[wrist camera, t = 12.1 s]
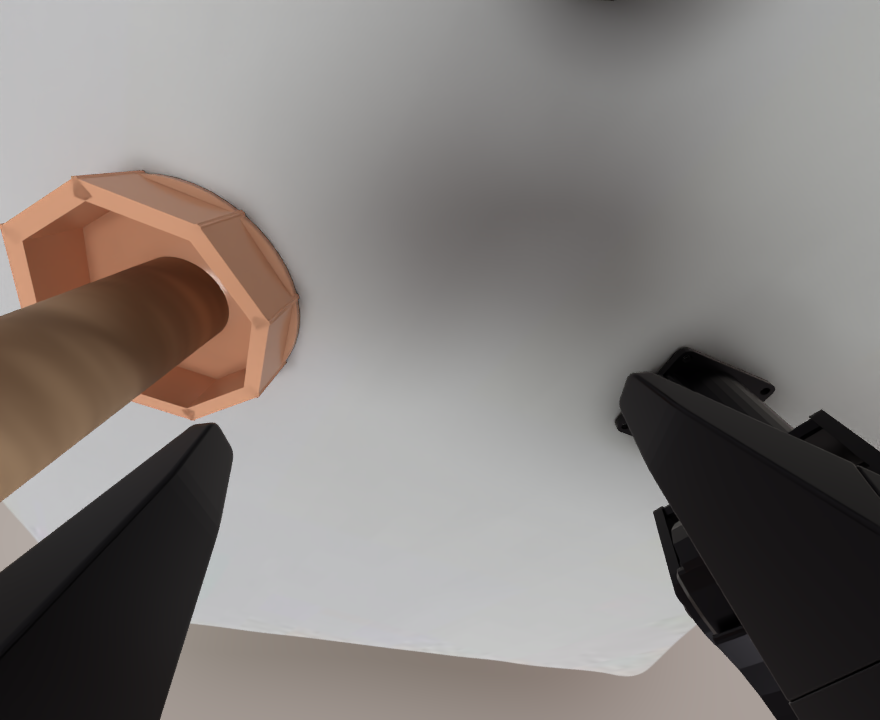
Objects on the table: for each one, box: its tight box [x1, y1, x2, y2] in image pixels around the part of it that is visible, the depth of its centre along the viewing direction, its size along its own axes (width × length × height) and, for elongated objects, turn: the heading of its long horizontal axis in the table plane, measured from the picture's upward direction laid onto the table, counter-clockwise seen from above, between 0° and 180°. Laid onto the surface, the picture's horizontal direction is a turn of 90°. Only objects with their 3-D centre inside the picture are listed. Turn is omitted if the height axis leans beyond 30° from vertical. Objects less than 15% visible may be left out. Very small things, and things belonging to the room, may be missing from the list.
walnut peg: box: [0, 257, 229, 502], centre depth 14 cm, size 5×5×13 cm
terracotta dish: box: [0, 170, 300, 421], centre depth 19 cm, size 12×12×4 cm
